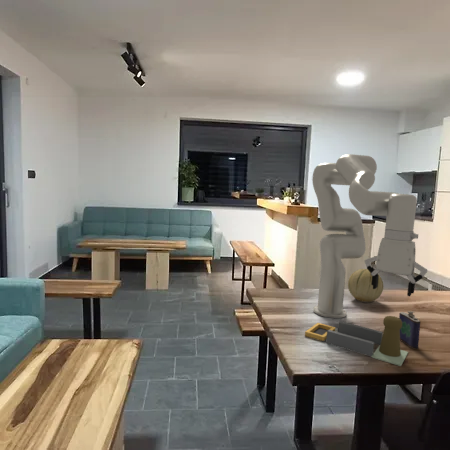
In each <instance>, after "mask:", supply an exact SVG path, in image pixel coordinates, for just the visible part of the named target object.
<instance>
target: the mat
mask: <svg viewBox="0 0 450 450" xmlns="http://www.w3.org/2000/svg"><path fill="white" fill-rule="evenodd" d="M379 348H380V345H378V347H377V348H376V349H375V350H374V352H373V355H372V357H371V358H372V359H376V360H379V361H382V362H384V363H385V362H386V363H388V364H391V365H395V366H399V367H402V365H403V363H404V361H405V359H406V357H407V356H408V354H409V351H407V350H404V349H400V352H401V355H400V356H398V357H391V356H387V355H384V354H382V353H381V352H380V351H379Z"/></svg>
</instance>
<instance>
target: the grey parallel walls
mask: <svg viewBox="0 0 450 450" xmlns="http://www.w3.org/2000/svg"><path fill="white" fill-rule="evenodd" d="M383 332H384V331H380V330H377V329H373V328H369V327H365V326H361V325H356V324H353V323H350V322H346V321H342V320H339V321H338V323H337V331H332V330H328V331H327V339H326V340H325V341H326V342H325V343H326V344H328V345H331V346H334V347H338V348H342V349H345V350H348V351H351V352H355V353H358V354H361V355H365V356H368V357H371V358H372V355H373V354H374V352H375V345H378V346H380V344H381V340H382V336H383Z"/></svg>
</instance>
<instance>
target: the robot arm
mask: <svg viewBox="0 0 450 450" xmlns="http://www.w3.org/2000/svg"><path fill="white" fill-rule="evenodd" d="M377 168H378V166H377V162H376V160H375V159H374V158H373V157H372V156H370V155H364V154H363V155H362V154H352V153H351V154H349V153H347V154H343V155H341V156H340V157H338V159H337V160H336V162H323V163H320V164H319V163H318V164H317V166H315V168H314V169H313V172H312V179H311V180H312V187H313V189H314V193H315V196H316V198H317V202H318V203H317V204H318V212H319V218H320V224H321V225H320V226H321V228H322V229H323V231H326V232H334V233H330V234H326V235H324V236H323V237H322V238H321V239H320V243H319V252H320V272H319V273H320V274H319V283H318V284H319V286H318V299H317V305H315V306H314V307H313V312H314V314H316V315H318V316H321V317H324V318H328V319H329V318H331V319H343V318H344V317H346V316H347V311H346V310H345V309H344V308H343V307H344V295H345V287H346V286H345V285H346V267H345V265H344V263H343V261H342V260H344V259H352V260H353V259H361V258H362V257H363V256H364V255H365V253H366V239H365V238H366V237H365V234H364V233H365V232H364V226H363V220H362V217H361V215H360V213H361V214H362V215H365V216H375V217H376V216H377V217H378V216H381V217H386V219H385V228H384V236H383V237H382V238H381V240H380V244H379V247H378V252H377V255H376V256H373V257H368V258H366V259H365V260H364V264H365V266H366V269H368V270H369V272H370V273H371V275H372V283H371V285H373V289H376V288H377V287H378V279H379V276H380V274H379V273H380V272H382V273H388V274H394V275H398V276H399V275H400V276H405V277H407V279H408V280H409V282H408V285H407V292H406V293H407V294H406V296H407V297H411V295H412V294H414V293H415V287H416V283H417V282H419V281H420V280H422V279H423V278H424V277H425V275H426V274H427V273H428V271H429V270H428V269H427V268H425V267H424V266H423V265H421V264H419V263H418V262H417V261H416V242H415V241H413V240H415V239H416V240H418V239H419V233H418V234H417V233H415V232H414V229H415V228H414V227H415V220H416V219H415V217H416V211H417V204H418V203H417V201H418V199H417V197H416V195H413V194H407V193H398V192H392V191H391V192H390V191H376V190H374V191H373V190H370V189H371V188H372V187H373V186H374V184H375V181H376V176H375V174H376V173H377V170H378V169H377ZM332 185H333V186H334V185H335V186H349V188H348V198H349V202H350V203H351V205H353V207H354V208H355V209H354V208H348V207H347V208H344V207H342V204H341V199H340V195H339V194H338V192H337V191H336V190H335V189H334V187H333V186H332ZM335 232H338V233H335ZM343 233H345V234H343ZM375 261H376V262H375ZM373 262H375V268H374V266H373V265H372V263H373ZM415 269H416V270H418V271H419V272H420V273H419V274H418V275H415V274H414V272H415Z"/></svg>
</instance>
